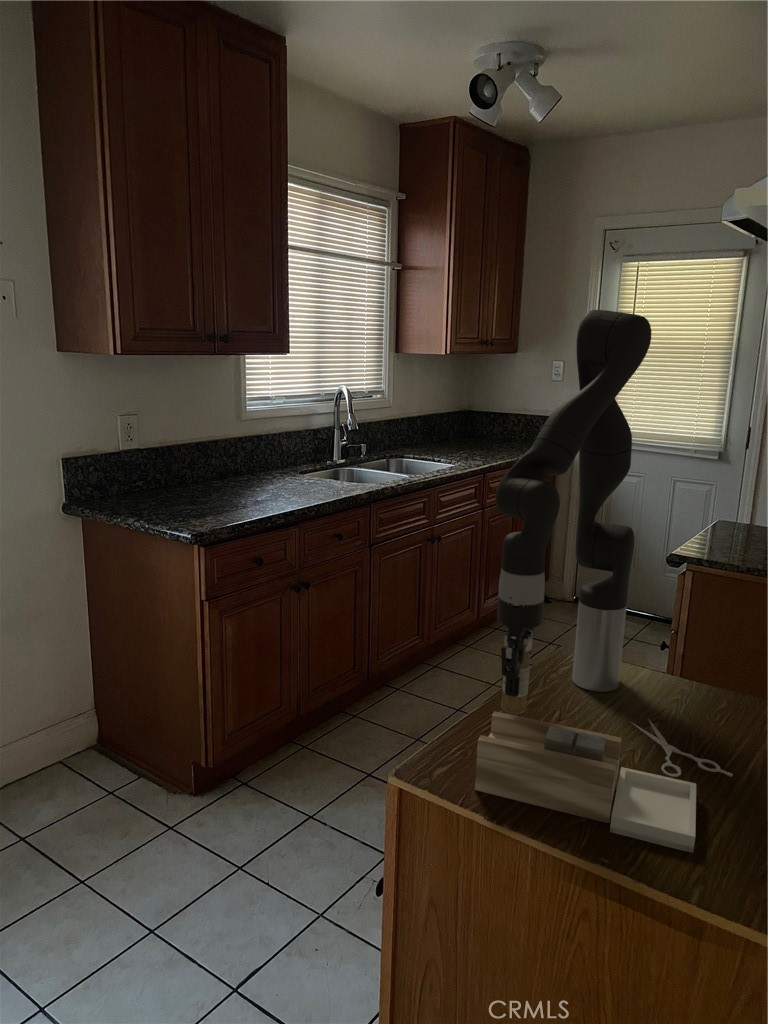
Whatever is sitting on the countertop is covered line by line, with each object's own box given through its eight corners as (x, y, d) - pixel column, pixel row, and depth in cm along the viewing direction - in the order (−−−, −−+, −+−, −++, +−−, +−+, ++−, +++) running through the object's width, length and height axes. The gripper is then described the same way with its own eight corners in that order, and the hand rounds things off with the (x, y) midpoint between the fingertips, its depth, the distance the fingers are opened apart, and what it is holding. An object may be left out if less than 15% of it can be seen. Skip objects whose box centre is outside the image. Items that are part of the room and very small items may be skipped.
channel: (491, 758, 126) (494, 711, 124) (616, 787, 118) (621, 737, 116) (474, 789, 116) (477, 739, 115) (609, 823, 109) (614, 770, 107)
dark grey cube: (577, 756, 116) (579, 732, 116) (604, 761, 115) (606, 738, 114) (573, 769, 113) (575, 744, 112) (600, 775, 111) (603, 750, 110)
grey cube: (547, 749, 118) (549, 726, 117) (574, 755, 117) (576, 731, 116) (543, 762, 114) (544, 738, 114) (569, 768, 113) (571, 743, 112)
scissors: (674, 781, 120) (611, 719, 139) (673, 785, 120) (611, 723, 139) (733, 775, 122) (663, 715, 141) (732, 779, 122) (663, 719, 141)
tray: (619, 781, 120) (621, 766, 119) (694, 798, 116) (696, 783, 115) (609, 831, 107) (611, 816, 107) (693, 853, 103) (695, 836, 103)
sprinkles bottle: (499, 702, 133) (503, 630, 130) (525, 702, 133) (530, 631, 130) (502, 715, 129) (506, 641, 126) (529, 715, 129) (534, 642, 126)
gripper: (509, 579, 134) (504, 668, 138) (487, 605, 121) (482, 702, 125) (552, 585, 131) (545, 676, 135) (534, 613, 118) (527, 712, 122)
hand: (515, 688), depth 130 cm, fingers closed on sprinkles bottle, 4 cm apart
